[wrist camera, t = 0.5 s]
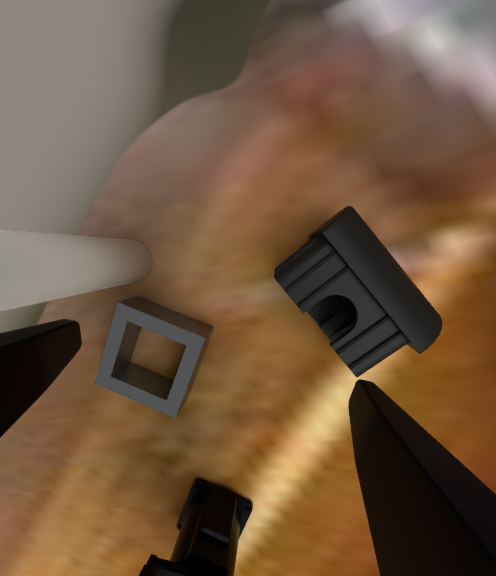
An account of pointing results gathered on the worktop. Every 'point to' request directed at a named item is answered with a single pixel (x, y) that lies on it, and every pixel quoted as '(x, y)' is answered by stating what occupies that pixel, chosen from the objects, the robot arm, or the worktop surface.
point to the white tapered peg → (65, 266)
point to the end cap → (358, 293)
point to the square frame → (139, 380)
